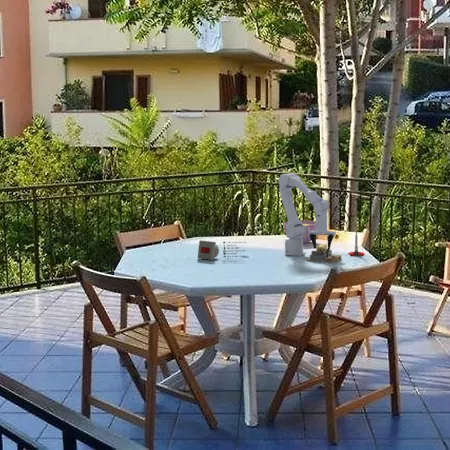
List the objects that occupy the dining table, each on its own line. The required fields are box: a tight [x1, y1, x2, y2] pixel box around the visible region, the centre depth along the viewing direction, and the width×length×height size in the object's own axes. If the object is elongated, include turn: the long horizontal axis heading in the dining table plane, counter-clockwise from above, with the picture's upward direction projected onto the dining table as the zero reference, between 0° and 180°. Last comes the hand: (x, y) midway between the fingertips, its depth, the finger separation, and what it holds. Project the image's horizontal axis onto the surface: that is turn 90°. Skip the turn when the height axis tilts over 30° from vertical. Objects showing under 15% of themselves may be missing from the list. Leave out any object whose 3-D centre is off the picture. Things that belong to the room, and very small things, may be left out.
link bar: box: [316, 243, 328, 253], centre depth 419 cm, size 3×9×4 cm, turn 157°
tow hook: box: [347, 231, 365, 257], centre depth 426 cm, size 8×13×9 cm
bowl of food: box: [283, 220, 316, 245], centre depth 467 cm, size 20×20×12 cm
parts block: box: [325, 254, 342, 264], centre depth 411 cm, size 5×11×2 cm, turn 157°
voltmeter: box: [197, 239, 247, 261], centre depth 424 cm, size 27×11×10 cm, turn 87°
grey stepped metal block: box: [306, 247, 334, 263], centre depth 417 cm, size 10×17×5 cm, turn 157°
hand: (321, 248), depth 419 cm, fingers open, 7 cm apart
